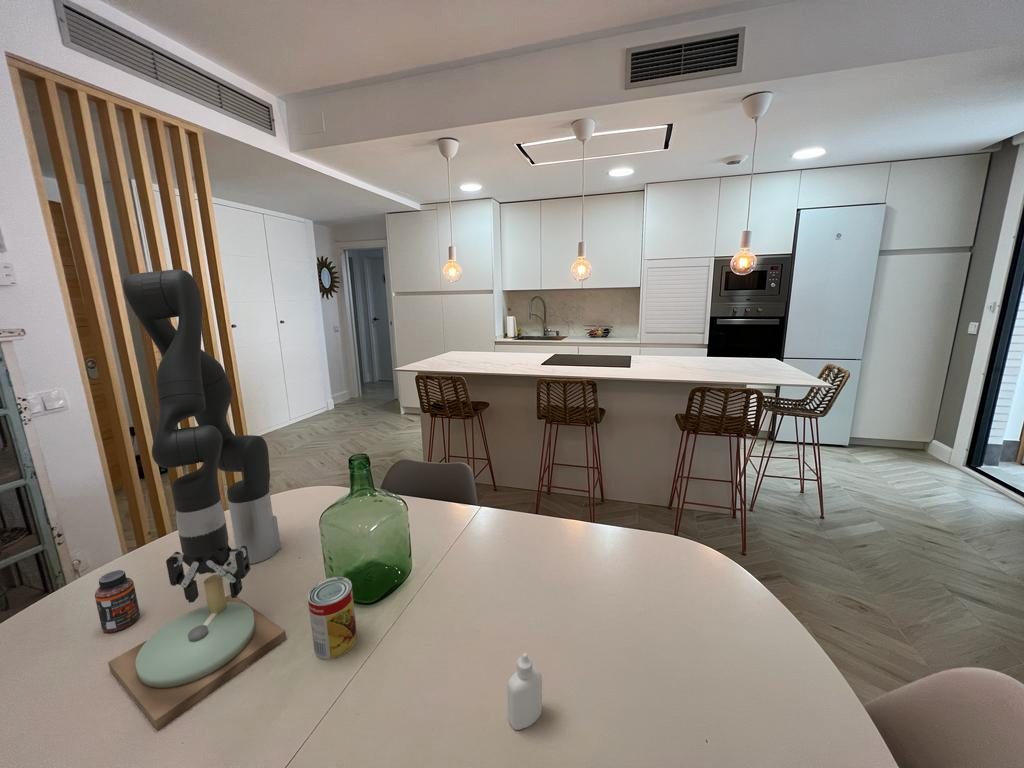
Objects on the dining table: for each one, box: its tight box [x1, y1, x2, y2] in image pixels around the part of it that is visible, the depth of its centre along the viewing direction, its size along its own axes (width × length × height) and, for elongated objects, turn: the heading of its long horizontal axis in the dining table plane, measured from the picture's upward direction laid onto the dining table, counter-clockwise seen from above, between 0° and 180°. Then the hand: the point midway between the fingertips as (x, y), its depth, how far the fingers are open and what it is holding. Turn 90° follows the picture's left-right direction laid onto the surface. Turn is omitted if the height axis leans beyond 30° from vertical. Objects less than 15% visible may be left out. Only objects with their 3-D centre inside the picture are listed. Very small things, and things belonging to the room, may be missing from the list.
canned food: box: [307, 576, 358, 661], centre depth 81 cm, size 8×8×12 cm
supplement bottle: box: [94, 569, 141, 633], centre depth 87 cm, size 6×6×11 cm
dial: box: [136, 574, 255, 688], centre depth 78 cm, size 18×18×9 cm
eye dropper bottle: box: [506, 652, 543, 731], centre depth 66 cm, size 4×6×12 cm
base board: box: [107, 593, 287, 732], centre depth 79 cm, size 21×21×2 cm
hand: (215, 597), depth 85 cm, fingers open, 7 cm apart
